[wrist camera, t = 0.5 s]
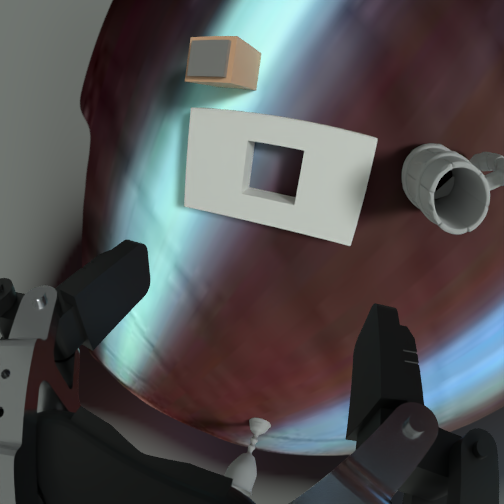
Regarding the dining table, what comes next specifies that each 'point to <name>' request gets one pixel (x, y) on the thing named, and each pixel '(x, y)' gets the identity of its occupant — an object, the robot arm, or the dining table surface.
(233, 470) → the chalice
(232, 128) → the socket plate
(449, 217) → the mug
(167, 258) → the dining table surface
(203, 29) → the dining table surface
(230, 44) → the plug
